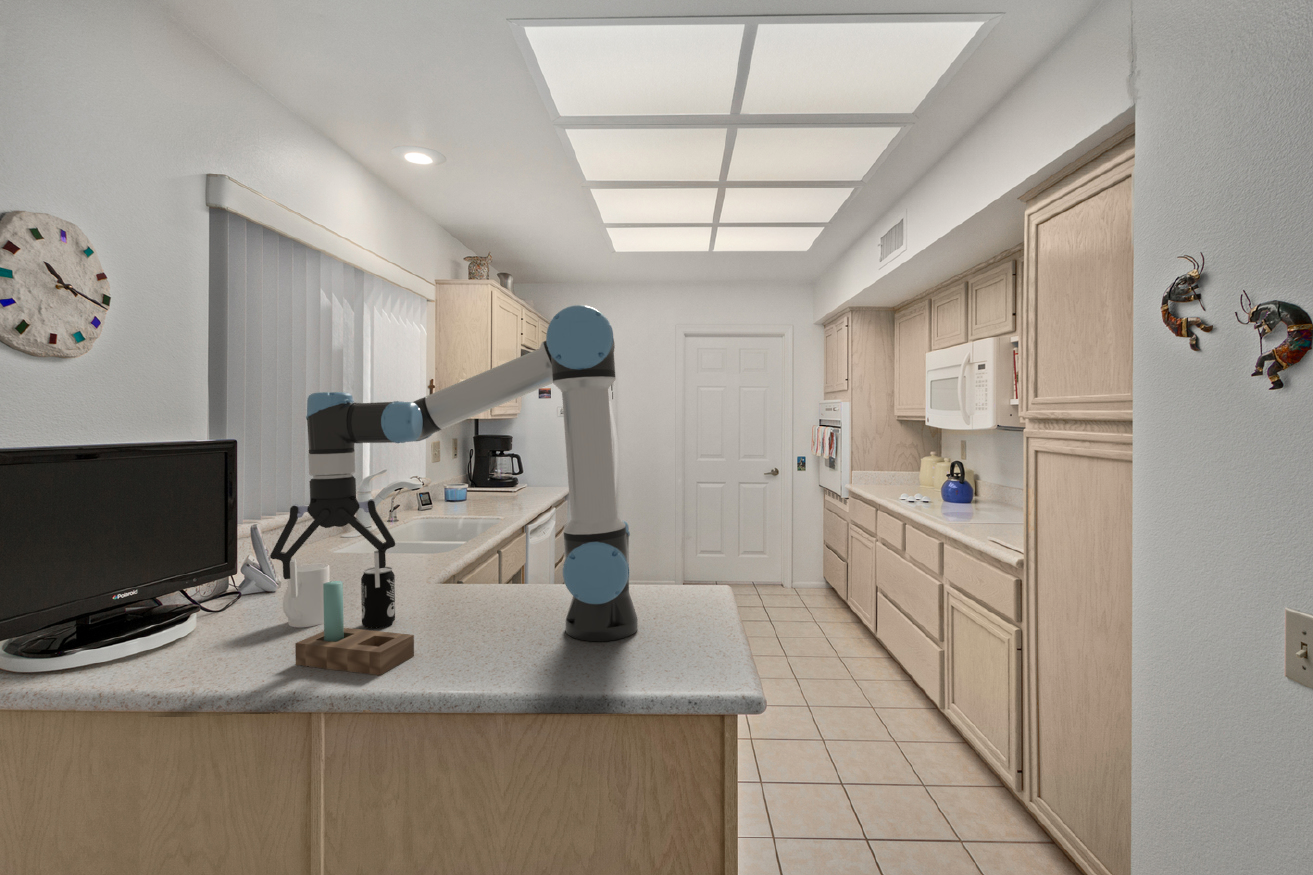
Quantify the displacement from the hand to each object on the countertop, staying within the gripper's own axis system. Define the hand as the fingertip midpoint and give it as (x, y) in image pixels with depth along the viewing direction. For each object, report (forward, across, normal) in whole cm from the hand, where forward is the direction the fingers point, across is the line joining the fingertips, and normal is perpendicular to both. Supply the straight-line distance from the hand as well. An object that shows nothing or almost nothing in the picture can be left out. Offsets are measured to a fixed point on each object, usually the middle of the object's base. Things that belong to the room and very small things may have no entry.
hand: (337, 591), depth 111 cm
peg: (+12, +1, 0) cm, 13 cm away
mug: (+12, +8, -25) cm, 29 cm away
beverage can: (+13, -7, -18) cm, 23 cm away
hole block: (+13, -3, +3) cm, 13 cm away
